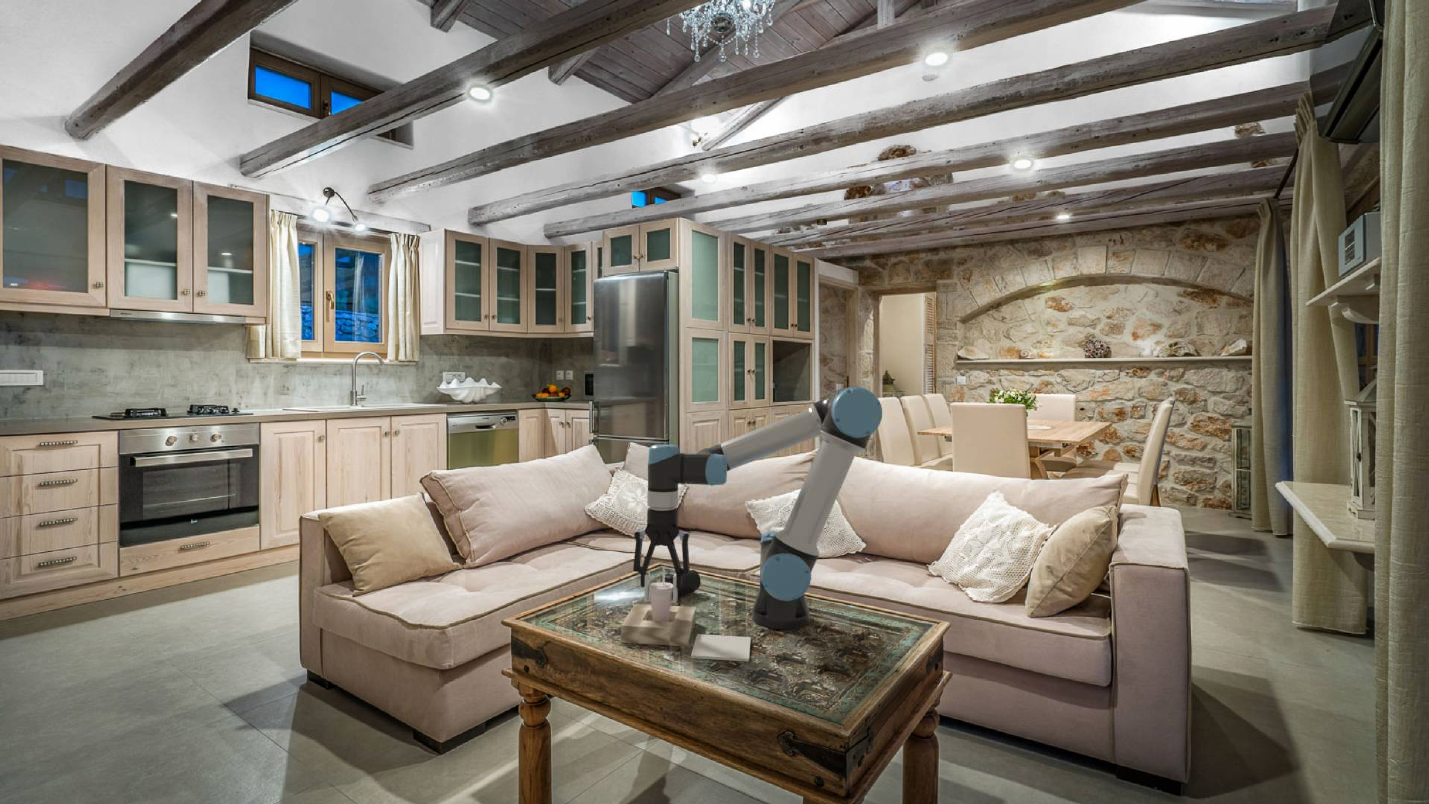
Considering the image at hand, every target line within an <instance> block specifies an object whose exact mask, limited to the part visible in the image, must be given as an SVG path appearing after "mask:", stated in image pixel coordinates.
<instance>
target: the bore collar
mask: <svg viewBox="0 0 1429 804" xmlns="http://www.w3.org/2000/svg"><path fill="white" fill-rule="evenodd" d="M696 614H697V607H696V606H680V605H679V606H678V605H671V607H670V614H669V621H668V622H664V621H653V619H652V609H651V604H642V603H634V605H633V606H632V608H631V610H630V611H629V612H628V614H627V616H626V617H625V619H624V620H623V621H622V623H621V624H620V643H626V644H627V643H628V644H642V645H658V646H677V647H688V646H689V645H690V640H691V638H692V634H693V632H694V629H695V625H696V622H697V621H696V619H697V615H696Z"/></svg>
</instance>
